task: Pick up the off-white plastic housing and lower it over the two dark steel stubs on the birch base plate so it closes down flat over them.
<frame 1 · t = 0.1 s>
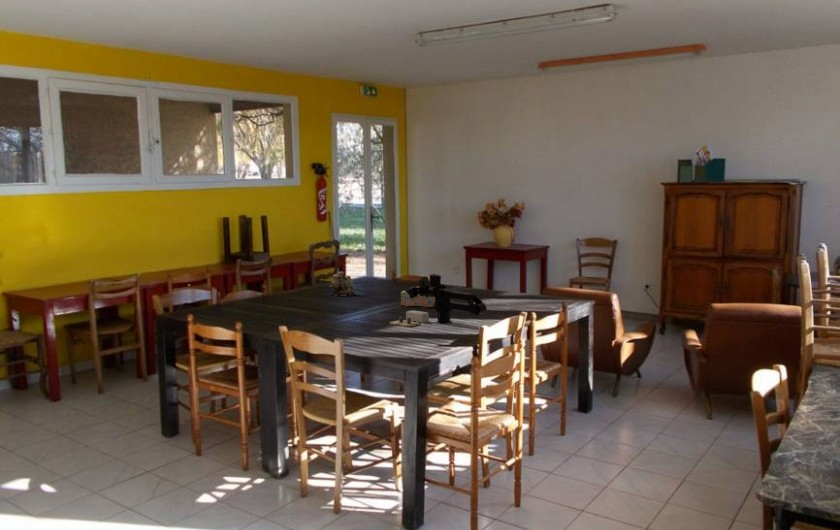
hand: (410, 289, 421), 17 cm above the table, tool horizontal, fingers open, 9 cm apart
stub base: (405, 324, 402), on the table
owl figurine: (342, 295, 501), on the table
stack of blocks: (417, 306, 458), on the table
housing: (417, 320, 412), on the table
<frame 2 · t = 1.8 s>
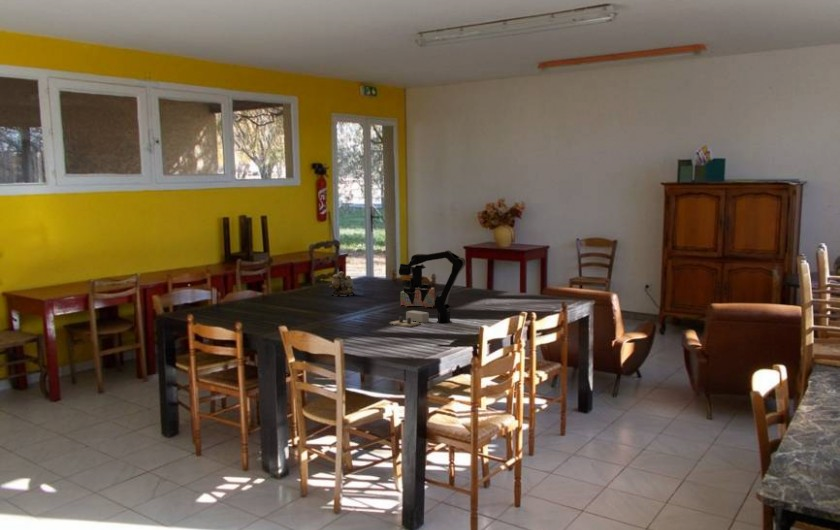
hand: (417, 302, 410), 11 cm above the table, tool pointing down, fingers open, 9 cm apart
nothing on the table moved.
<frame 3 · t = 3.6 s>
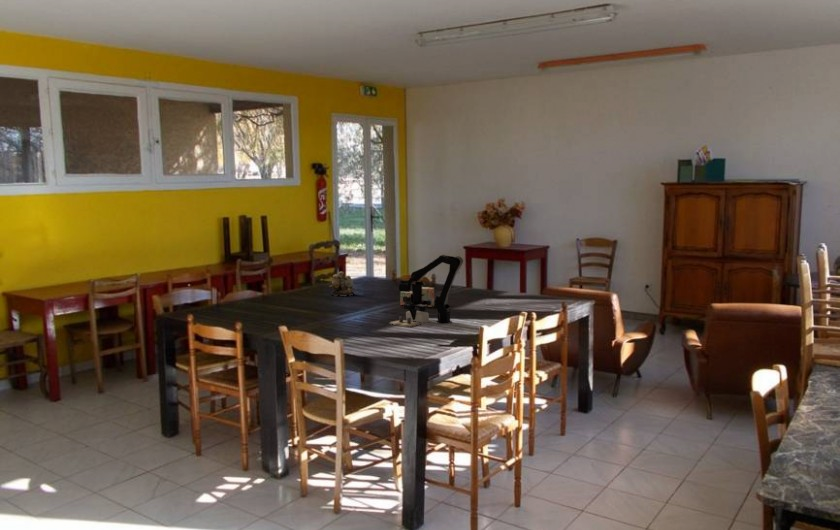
hand: (417, 319, 411), 1 cm above the table, tool pointing down, fingers closed on housing, 6 cm apart
housing: (417, 320, 412), on the table, touching gripper
everything else where it was.
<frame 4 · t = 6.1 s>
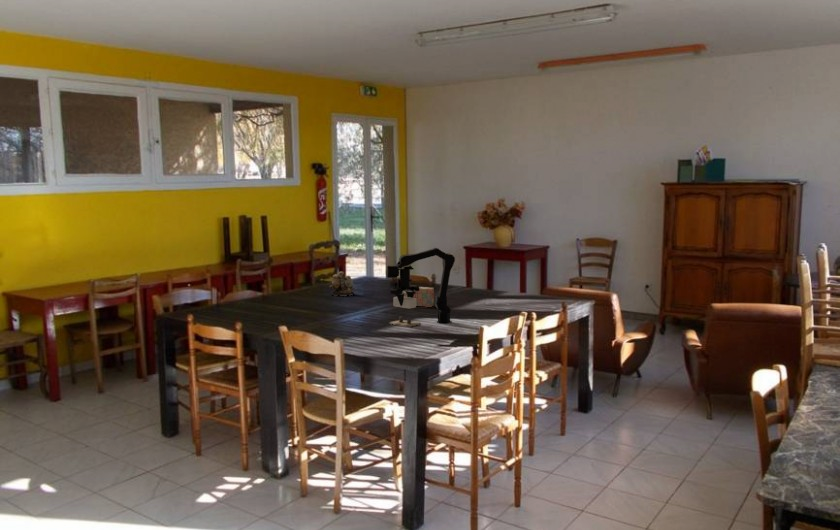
hand: (404, 304, 401), 11 cm above the table, tool pointing down, fingers closed on housing, 6 cm apart
housing: (404, 306, 401), point 10 cm above the table, touching gripper
everything else where it was.
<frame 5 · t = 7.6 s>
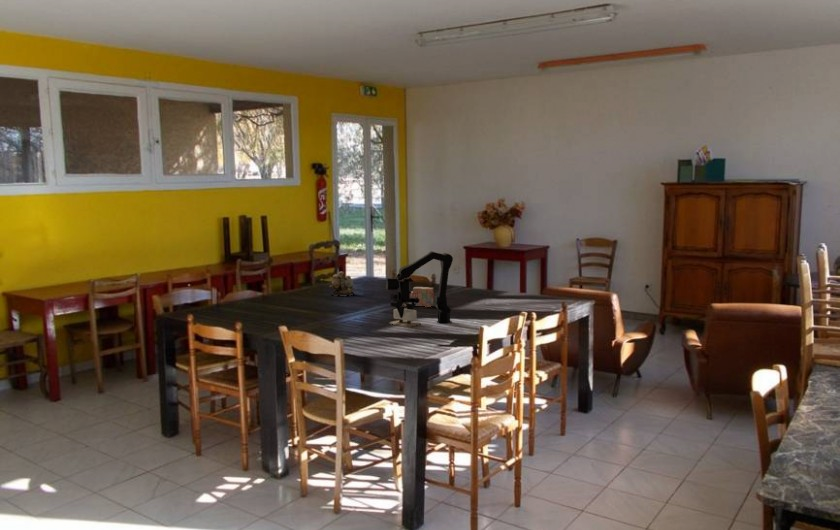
hand: (405, 316, 401), 4 cm above the table, tool pointing down, fingers closed on housing, 6 cm apart
housing: (405, 318, 401), point 3 cm above the table, touching gripper
everything else where it was.
when the fingers open (3 cm above the table, at t = 8.9 s): housing stays where it is, resting on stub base.
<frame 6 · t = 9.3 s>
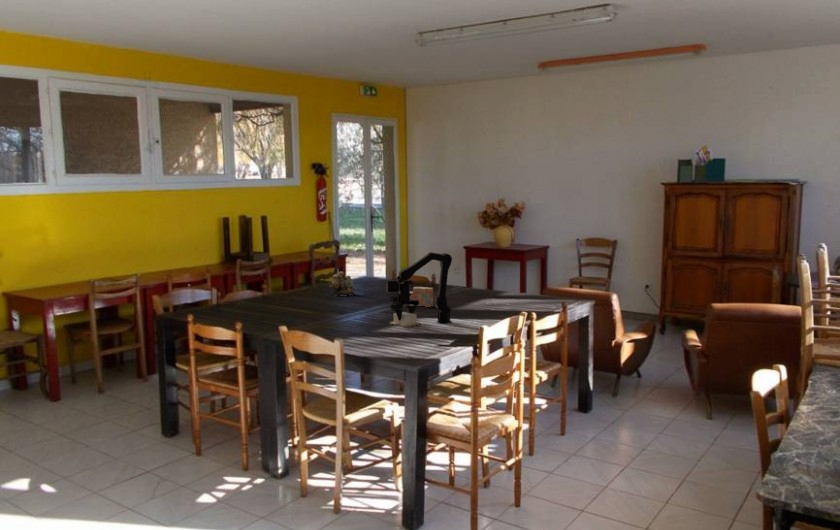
hand: (405, 319, 401), 3 cm above the table, tool pointing down, fingers open, 9 cm apart
housing: (405, 322, 402), point 1 cm above the table, touching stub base
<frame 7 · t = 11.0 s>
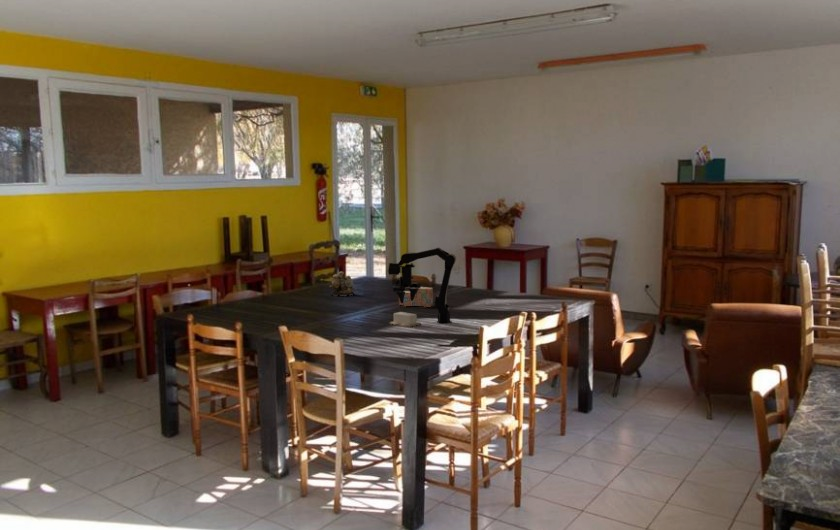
hand: (406, 301, 408), 11 cm above the table, tool pointing down, fingers open, 9 cm apart
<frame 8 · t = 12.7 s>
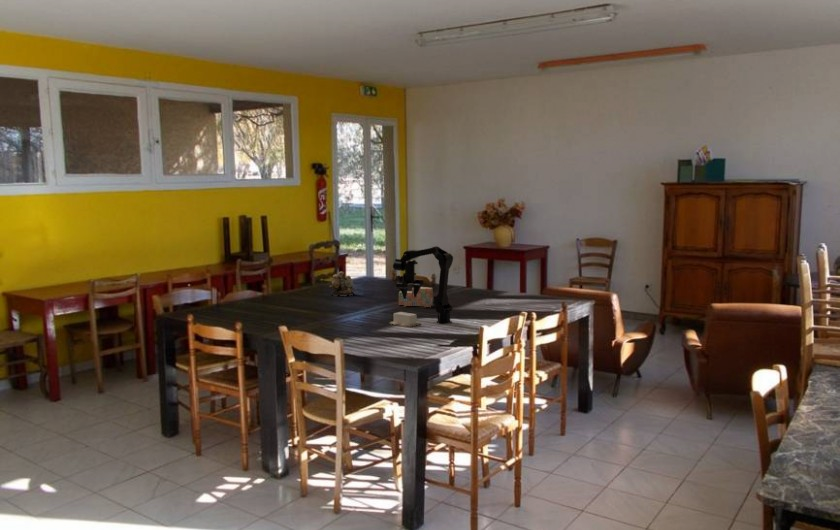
hand: (409, 297, 419), 12 cm above the table, tool pointing down, fingers open, 9 cm apart
at the end: housing 0.1 cm off-centre on the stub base, point 1.0 cm above the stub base's base; housing tilted 0°; the gripper is holding nothing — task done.
